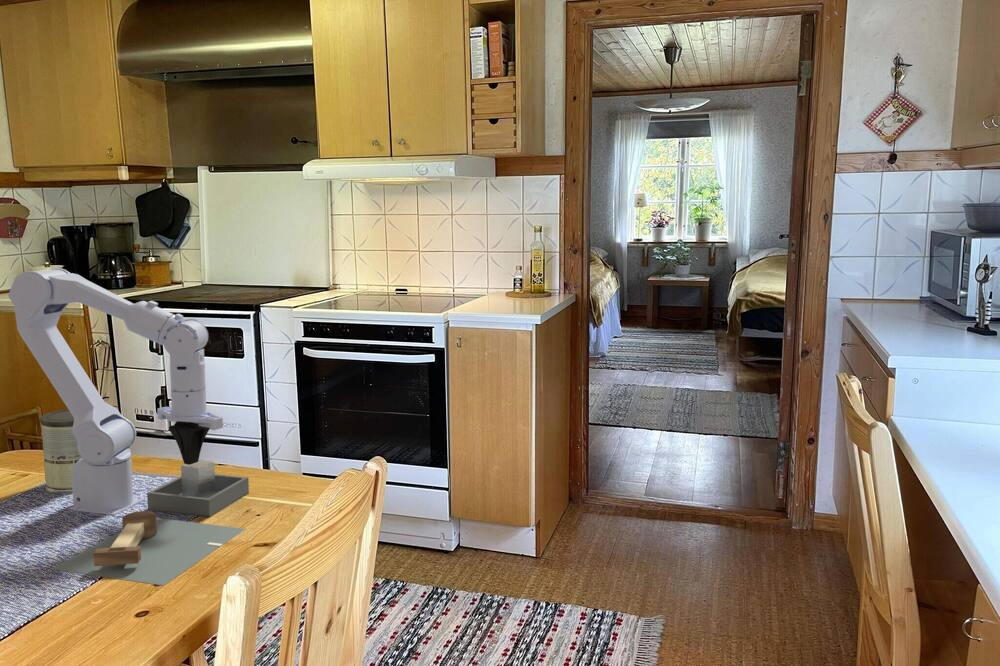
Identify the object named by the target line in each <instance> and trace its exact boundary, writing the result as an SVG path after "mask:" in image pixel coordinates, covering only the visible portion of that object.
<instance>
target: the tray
mask: <svg viewBox="0 0 1000 666" xmlns="http://www.w3.org/2000/svg"><path fill="white" fill-rule="evenodd" d="M249 490H250V489H249V477H248V476H239V475H238V476H236V475H227V474H218V473H215V495H213V496H211V497H209V498H201V497H192V496H183V495H182V478H181V476H179V477H177V478H174V479H173V480H172V479H171V481H168V482H166V483H164V484H163V485H160V486H159V487H156V488H155V489H153V490H150V491H149V492H147V493H146V494H147V495H146V496H147V511H152V512H160V513H161V512H162V513H170V514H179V515H187V516H194V517H195V516H196V517H204V518H211V517H213V516H215V515H216V514H218V513H219V512H221V511H223V510H224V509H226V508H227V507H230V506H231V505H232V504H234V503H235V502H237V501H239V500H241V499H243V498H244V497H245V496H247V495H249Z"/></svg>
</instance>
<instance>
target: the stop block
mask: <svg viewBox="0 0 1000 666" xmlns="http://www.w3.org/2000/svg"><path fill="white" fill-rule="evenodd" d="M215 471H216V470H215V462H214V461H209V460H202V459H199V460H198V462H196V463H193V464H190V465H188V464H181V465H180V474H181V478H182V495H183V496H192V497H201V498H209V497H211V496H213V495H215V474H216V472H215Z"/></svg>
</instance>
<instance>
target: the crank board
mask: <svg viewBox="0 0 1000 666" xmlns="http://www.w3.org/2000/svg"><path fill="white" fill-rule="evenodd" d="M156 524H157V533H156V534H155V535H154V536H152V537H150V538H147V539H143V540H140V542H139V543H138V545H137V546H141V560H140V562H139V563H137V564H121V565H106V566H94V554H93V553H94V552H95V551H96V549H100V548H110V547H111V546H112V544H113V543H114V542H115V540H116V539H117V537H118V536H119V535H120V533H121V532H122V530H121V531H119V532H117V533H115V534H113V535H112V536H110V537H108V538H106V539H104V540H102V541H100V542H99V543H97V544H95V545H93V546H91V547H89V548H88V549H86V550H84V551H82V552H80V553H78V554H76V555H74V556H72V557H71V558H69V559H67V560H65V561H64V562H61V563H60V564H58V565H56V566H55V567H52V568H51V570H52V571H53V570H54V571H62V572H66V573H67V572H69V573H74V574H81V575H89V576H95V577H101V578H109V579H114V580H115V579H116V580H123V581H129V582H135V583H142V584H150V585H156V586H161V587H162V586H163V587H164V586H165V585H167V584H168V583H170V582H171V581H173V580H175V579H176V578H177V577H179V576H180V575H182V574H183V573H184V572H186V571H187V570H188V569H190V568H191V567H193V566H194V565H196V564H198V563H199V562H200V561H202V560H204V559H205V558H207V557H208V556H209V555H210V554H212V553H213V552H215V551H216V550H218V549H220V548H221V547H222V546H224V545H225V544H227V543H228V542H229V541H232V539H233V538H235V537H236V536H238V535H239V534H241V533H243V532H244V531H246V528H242V527H233V526H226V525H218V524H209V523H202V522H201V523H200V522H193V521H186V520H178V519H171V518H170V519H169V518H160V517H156Z"/></svg>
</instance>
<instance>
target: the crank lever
mask: <svg viewBox="0 0 1000 666" xmlns="http://www.w3.org/2000/svg"><path fill="white" fill-rule="evenodd" d="M156 518H157V513H156V511H153V510H140V511H139V510H138V511H134V512H130V513H128V514H125V515H124V516H122V520H121V521H122V530H121V531H122V532H121V531H120V532H121V533H120V535H119V536H118V537H117V539H116V540H115V542H114V543H113V544H112V546H111V547H110V548H100V549H96V551H95V552H94V553H93V554H94V566H106V565H121V564H137V563H139V562H140V560H141V546H137V545H138V543H139V542H140V540H143V539H147V538H150V537H152V536H154V535H155V534H156V533H157V524H156Z"/></svg>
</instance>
